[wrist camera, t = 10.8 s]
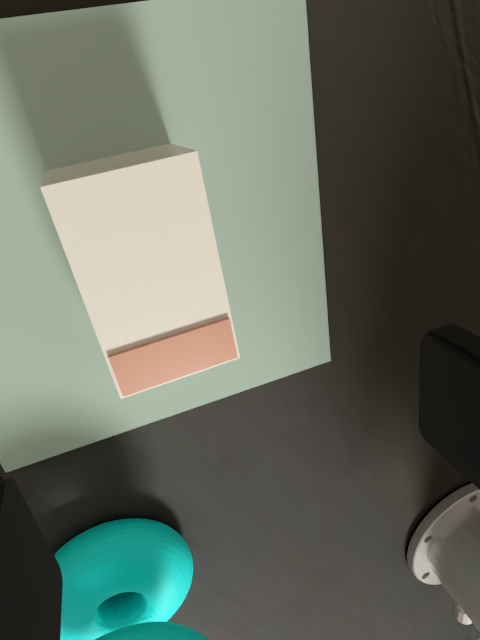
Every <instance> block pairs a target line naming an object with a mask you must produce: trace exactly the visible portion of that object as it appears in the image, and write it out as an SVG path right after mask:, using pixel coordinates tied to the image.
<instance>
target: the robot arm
mask: <svg viewBox="0 0 480 640" xmlns="http://www.w3.org/2000/svg"><path fill="white" fill-rule="evenodd" d="M419 429H420V432H421V434H422V436H423V438H424V439H425V440H426V441H427V442H428V443H429V444H430V445H431V446H432V447H434V448H435V449H436V450H437V451H438V452H439V453H440V454H441V455H442V456H443V457H444V458H446V459H447V460H448V461H449V462H450V463H451V464H452V465H453V466H454V467H455V468H457V469H458V470H459V471H460V472H461V473H462V474H463V475H464V476H465V477H466V478H467V479H469V480H470V481H471V482H472V483H471V484H468V485H466V486H463V487H462V488H460V489H458V490H456V491H455V492H453V493H451V494H450V495H449V496H447V497H446V498H444V499H443V500H442V501H441V502H439V503H438V504H437V505H436V506H435V507H434V508H433V509H432V510H431V511H430V512H429V513H428V514H427V515H426V516H425V518H424V519H423V520H422V522H421V523H420V524H419V526H418V527H417V529H416V530H415V532H414V534H413V536H412V538H411V541H410V544H409V546H408V552H407V562H408V565H409V568H410V570H411V571H412V572H413V574H414V575H415V576H416V577H417V579H418V580H420V581H421V582H423V583H427V584H442V585H443V586H444V587H445V588H446V590H447V591H448V592H449V593H450V595H451V596H452V597H453V598H454V600H455V601H454V608H453V614H454V617H455V618H456V619H457V621H459V622H460V623H462V624H466V625H468V624H471V623H472V622H473V624H474V625H475V626H476V628H477V629H478V630H479V631H480V337H478V336H476V335H474V334H472V333H470V332H469V331H467V330H465V329H463V328H461V327H459V326H457V325H455V324H452V323H451V324H446V325H443V326H440V327H437V328H434V329H431V330H429V331H427V332H426V334H425V338H424V339H422V341H421V348H420V393H419ZM62 586H63V581H62V573H61V569H60V566H59V564H58V562H57V560H56V558H55V556H54V554H53V552H52V551H51V549H50V547H49V545H48V543H47V541H46V539H45V538H44V536H43V534H42V532H41V530H40V528H39V526H38V524H37V523H36V521H35V519H34V517H33V515H32V513H31V511H30V510H29V508H28V506H27V504H26V502H25V500H24V498H23V497H22V495H21V493H20V491H19V489H18V487H17V485H16V483H15V482H14V480H13V479H12V478H7V479H4V480H3V478H2V477H1V476H0V640H60V631H61V609H62Z"/></svg>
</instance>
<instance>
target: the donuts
mask: <svg viewBox="0 0 480 640" xmlns="http://www.w3.org/2000/svg"><path fill="white" fill-rule="evenodd" d="M54 556H55V558H56V560H57V562H58V564H59V566H60V569H61V573H62V581H63V586H62V609H61V631H60V640H208V639H207V638H206V637H205V636H203V635H202V634H200V633H199V632H197V631H196V630H194V629H192V628H190V627H187V626H184V625H181V624H176V623H171V622H167V621H168V620H169V619H170V618H171V617H172V616H173V614H174V613H175V612H176V611H177V610H178V608H179V607H180V606H181V604H182V603H183V601H184V599H185V597H186V595H187V593H188V591H189V588H190V585H191V581H192V576H193V559H192V555H191V552H190V549H189V547H188V545H187V543H186V542H185V540H184V539H183V537H182V536H181V535H180V534H179V533H178V532H176V531H175V530H174V529H172V528H171V527H169V526H168V525H166V524H163V523H161V522H158V521H154V520H149V519H141V518H129V519H119V520H114V521H110V522H106V523H103V524H100V525H97V526H95V527H93V528H90V529H88V530H86V531H84V532H83V533H81V534H79V535H77V536H76V537H74V538H73V539H71V540H70V541H69V542H67V543H66V544H65V545H64V546H62V547H61V548H60V549H59V550H58V551H57V552H56V553H55V554H54Z"/></svg>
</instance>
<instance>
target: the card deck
mask: <svg viewBox="0 0 480 640" xmlns="http://www.w3.org/2000/svg"><path fill="white" fill-rule="evenodd" d="M40 188H41V191H42V194H43V196H44V199H45V201H46V204H47V207H48V209H49V212H50V215H51V217H52V220H53V223H54V225H55V228H56V230H57V233H58V236H59V238H60V241H61V244H62V246H63V249H64V251H65V254H66V257H67V259H68V262H69V265H70V267H71V270H72V272H73V275H74V278H75V280H76V283H77V286H78V288H79V291H80V294H81V296H82V299H83V301H84V304H85V307H86V309H87V312H88V315H89V317H90V320H91V322H92V325H93V328H94V330H95V333H96V336H97V338H98V341H99V343H100V346H101V349H102V351H103V354H104V357H105V359H106V362H107V365H108V367H109V370H110V372H111V375H112V378H113V380H114V383H115V386H116V388H117V391H118V393H119V396H120V399H123V398H126V397H129V396H132V395H134V394H137V393H140V392H143V391H146V390H149V389H152V388H155V387H158V386H161V385H163V384H166V383H169V382H172V381H175V380H178V379H181V378H184V377H187V376H190V375H193V374H195V373H198V372H201V371H204V370H207V369H210V368H213V367H216V366H219V365H222V364H224V363H227V362H230V361H233V360H236V359H239V358H240V355H239V350H238V345H237V340H236V335H235V331H234V326H233V321H232V316H231V311H230V307H229V302H228V297H227V292H226V287H225V282H224V278H223V273H222V268H221V263H220V258H219V253H218V249H217V244H216V239H215V234H214V229H213V224H212V220H211V215H210V210H209V205H208V200H207V195H206V191H205V186H204V181H203V176H202V171H201V166H200V162H199V157H198V152H197V151H196V150H192V149H189V148H185V147H182V146H178V145H175V144H171V143H169V144H164V145H160V146H155V147H151V148H146V149H142V150H137V151H133V152H128V153H124V154H120V155H115V156H111V157H106V158H102V159H97V160H93V161H88V162H84V163H79V164H75V165H70V166H66V167H61V168H57V169H52V170H48V171H46V174H45V176H44V179H43V181H42V184H41V186H40Z"/></svg>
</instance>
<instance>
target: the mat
mask: <svg viewBox="0 0 480 640" xmlns="http://www.w3.org/2000/svg"><path fill="white" fill-rule="evenodd" d="M169 143H171V144H175V145H178V146H182V147H185V148H189V149H192V150H196V151H197V152H198V157H199V162H200V166H201V171H202V176H203V181H204V186H205V191H206V195H207V200H208V205H209V210H210V215H211V220H212V224H213V229H214V234H215V239H216V244H217V249H218V253H219V258H220V263H221V268H222V273H223V278H224V282H225V287H226V292H227V297H228V302H229V307H230V311H231V316H232V321H233V326H234V331H235V335H236V340H237V345H238V350H239V355H240V358H239V359H236V360H233V361H230V362H227V363H224V364H222V365H219V366H216V367H213V368H210V369H207V370H204V371H201V372H198V373H195V374H193V375H190V376H187V377H184V378H181V379H178V380H175V381H172V382H169V383H166V384H163V385H161V386H158V387H155V388H152V389H149V390H146V391H143V392H140V393H137V394H134V395H132V396H129V397H126V398H123V399H120V396H119V393H118V391H117V388H116V386H115V383H114V380H113V378H112V375H111V372H110V370H109V367H108V365H107V362H106V359H105V357H104V354H103V351H102V349H101V346H100V343H99V341H98V338H97V336H96V333H95V330H94V328H93V325H92V322H91V320H90V317H89V315H88V312H87V309H86V307H85V304H84V301H83V299H82V296H81V294H80V291H79V288H78V286H77V283H76V280H75V278H74V275H73V272H72V270H71V267H70V265H69V262H68V259H67V257H66V254H65V251H64V249H63V246H62V244H61V241H60V238H59V236H58V233H57V230H56V228H55V225H54V223H53V220H52V217H51V215H50V212H49V209H48V207H47V204H46V201H45V199H44V196H43V194H42V191H41V188H40V186H41V184H42V181H43V179H44V176H45V174H46V171H48V170H52V169H57V168H61V167H66V166H70V165H75V164H79V163H84V162H88V161H93V160H97V159H102V158H106V157H111V156H115V155H120V154H124V153H128V152H133V151H137V150H142V149H146V148H151V147H155V146H160V145H164V144H169ZM329 361H331V356H330V342H329V328H328V313H327V299H326V284H325V270H324V256H323V241H322V227H321V213H320V198H319V184H318V169H317V155H316V141H315V126H314V112H313V97H312V83H311V69H310V54H309V40H308V25H307V11H306V0H148V1H140V2H132V3H123V4H115V5H107V6H99V7H91V8H83V9H75V10H67V11H58V12H50V13H42V14H34V15H26V16H18V17H10V18H2V19H0V463H1V465H2V467H3V469H4V471H5V472H9V471H12V470H15V469H18V468H21V467H24V466H27V465H30V464H33V463H35V462H38V461H41V460H44V459H47V458H50V457H53V456H56V455H59V454H62V453H64V452H67V451H70V450H73V449H76V448H79V447H82V446H85V445H88V444H91V443H94V442H96V441H99V440H102V439H105V438H108V437H111V436H114V435H117V434H120V433H123V432H126V431H128V430H131V429H134V428H137V427H140V426H143V425H146V424H149V423H152V422H155V421H157V420H160V419H163V418H166V417H169V416H172V415H175V414H178V413H181V412H184V411H187V410H189V409H192V408H195V407H198V406H201V405H204V404H207V403H210V402H213V401H216V400H218V399H221V398H224V397H227V396H230V395H233V394H236V393H239V392H242V391H245V390H248V389H250V388H253V387H256V386H259V385H262V384H265V383H268V382H271V381H274V380H277V379H280V378H282V377H285V376H288V375H291V374H294V373H297V372H300V371H303V370H306V369H309V368H311V367H314V366H317V365H320V364H323V363H326V362H329Z"/></svg>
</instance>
